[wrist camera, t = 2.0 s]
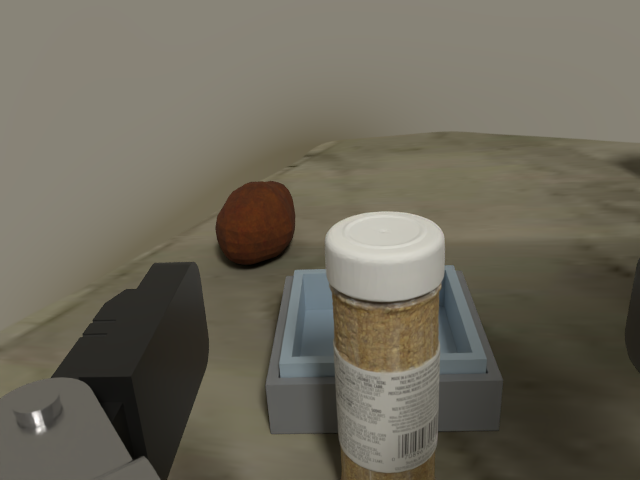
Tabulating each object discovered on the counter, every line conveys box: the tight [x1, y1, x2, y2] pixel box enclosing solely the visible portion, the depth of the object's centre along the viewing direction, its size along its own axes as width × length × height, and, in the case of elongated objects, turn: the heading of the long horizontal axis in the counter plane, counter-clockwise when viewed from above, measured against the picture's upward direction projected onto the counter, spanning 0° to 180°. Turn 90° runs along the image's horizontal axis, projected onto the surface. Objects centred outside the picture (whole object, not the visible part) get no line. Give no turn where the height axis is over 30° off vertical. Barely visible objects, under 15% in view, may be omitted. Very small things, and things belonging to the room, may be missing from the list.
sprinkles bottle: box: [325, 212, 445, 480], centre depth 26 cm, size 5×5×14 cm
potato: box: [215, 181, 295, 265], centre depth 52 cm, size 7×9×6 cm
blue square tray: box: [266, 265, 503, 434], centre depth 37 cm, size 12×12×4 cm
